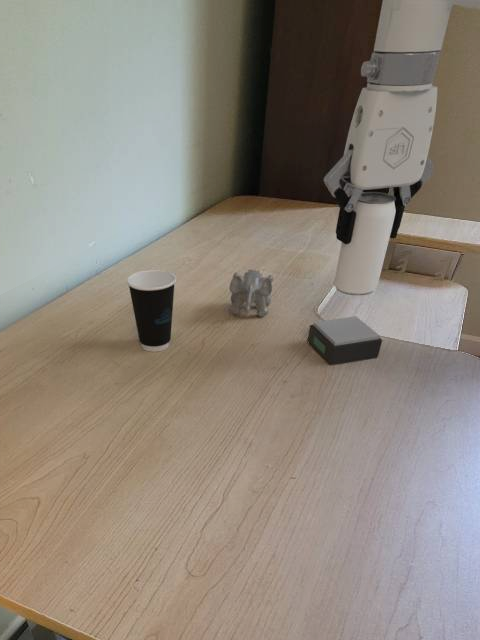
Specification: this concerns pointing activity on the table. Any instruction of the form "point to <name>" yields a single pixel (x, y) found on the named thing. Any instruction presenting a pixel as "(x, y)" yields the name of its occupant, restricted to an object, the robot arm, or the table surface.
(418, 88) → the robot arm
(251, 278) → the elephant statuette
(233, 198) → the table surface
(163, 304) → the dixie cup
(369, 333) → the scale
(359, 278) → the can
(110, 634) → the table surface
